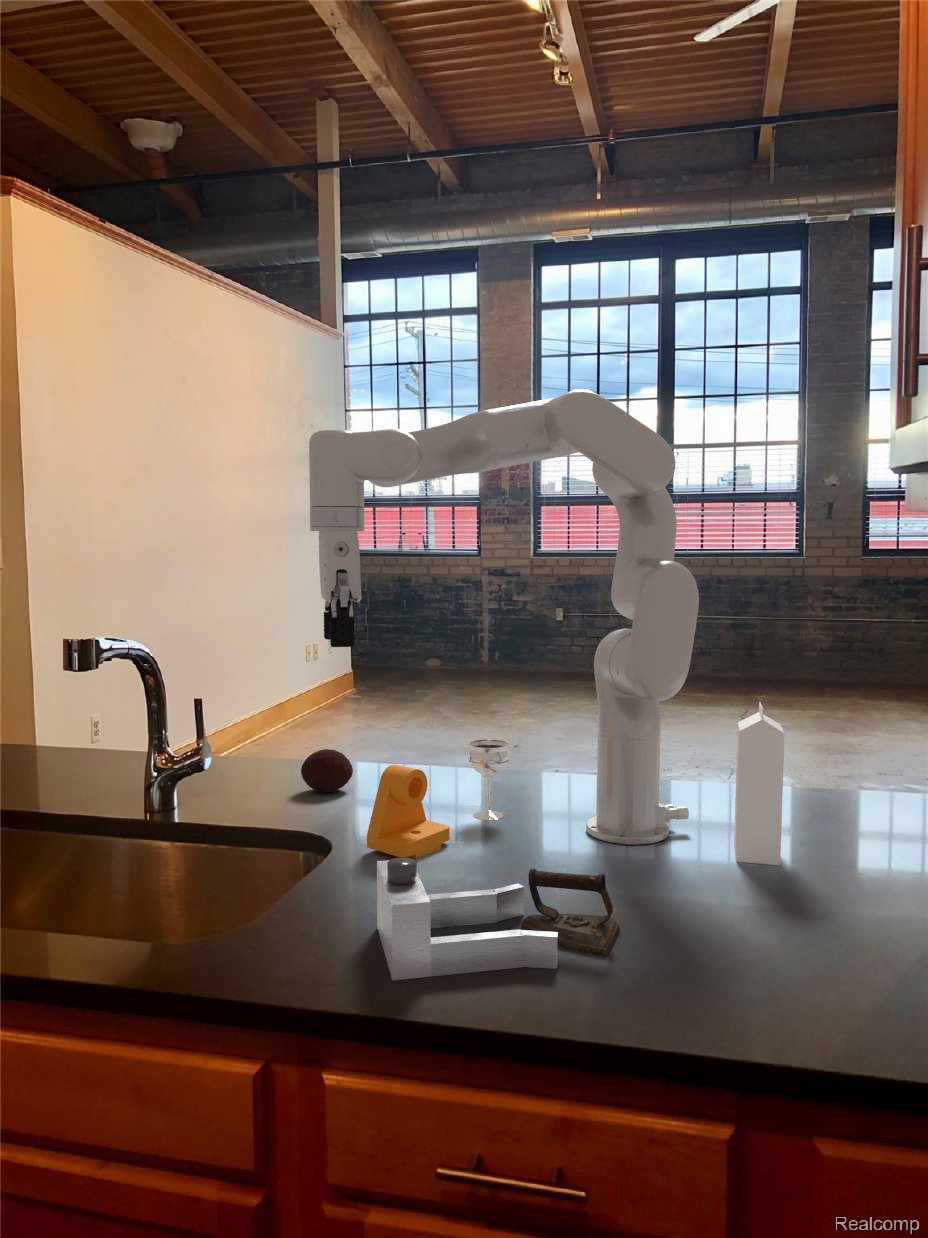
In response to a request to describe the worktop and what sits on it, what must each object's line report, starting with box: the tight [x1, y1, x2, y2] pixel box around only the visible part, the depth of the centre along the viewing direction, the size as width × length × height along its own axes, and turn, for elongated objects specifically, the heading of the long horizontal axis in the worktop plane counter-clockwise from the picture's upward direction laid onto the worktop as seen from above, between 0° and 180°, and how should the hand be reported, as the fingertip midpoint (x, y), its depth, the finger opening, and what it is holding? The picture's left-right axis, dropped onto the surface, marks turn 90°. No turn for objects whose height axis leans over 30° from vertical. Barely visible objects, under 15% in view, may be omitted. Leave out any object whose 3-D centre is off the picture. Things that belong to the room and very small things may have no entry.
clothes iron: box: [520, 868, 621, 957], centre depth 103 cm, size 7×11×10 cm, turn 70°
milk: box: [733, 701, 785, 866], centre depth 129 cm, size 6×6×22 cm
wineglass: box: [467, 738, 510, 821], centre depth 149 cm, size 7×7×12 cm
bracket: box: [366, 764, 451, 860], centre depth 133 cm, size 11×7×12 cm, turn 142°
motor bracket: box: [376, 857, 559, 981], centre depth 101 cm, size 18×15×10 cm
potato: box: [300, 748, 354, 793], centre depth 163 cm, size 8×9×8 cm
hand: (338, 642), depth 128 cm, fingers open, 9 cm apart
